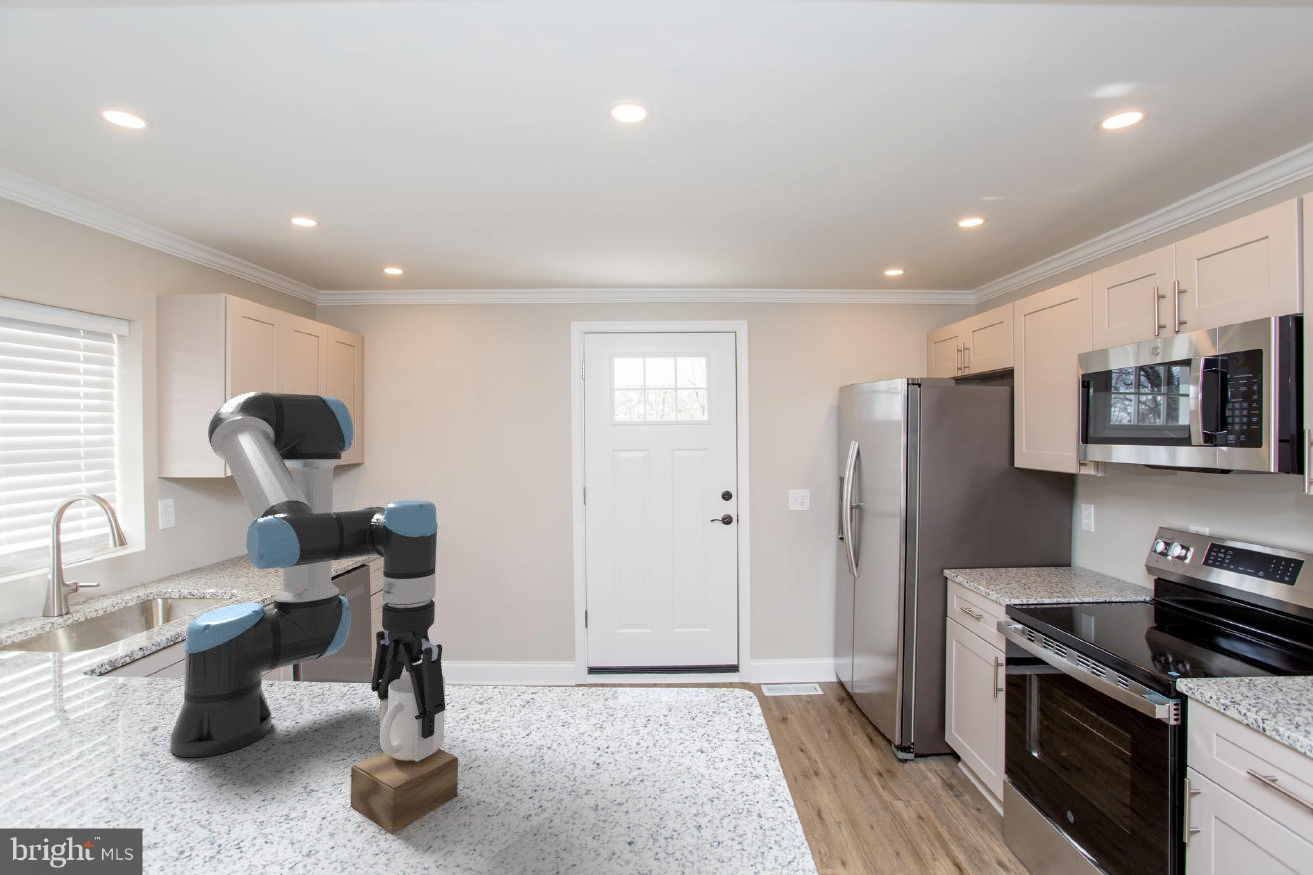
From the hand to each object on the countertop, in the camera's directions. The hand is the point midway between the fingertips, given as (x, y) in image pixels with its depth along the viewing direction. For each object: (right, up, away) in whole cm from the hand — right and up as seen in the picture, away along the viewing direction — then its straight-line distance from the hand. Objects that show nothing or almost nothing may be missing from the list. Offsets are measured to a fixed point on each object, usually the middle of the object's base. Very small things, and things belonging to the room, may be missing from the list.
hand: (405, 747), depth 91 cm
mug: (0, -1, 0) cm, 1 cm away
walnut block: (0, -8, 0) cm, 8 cm away
